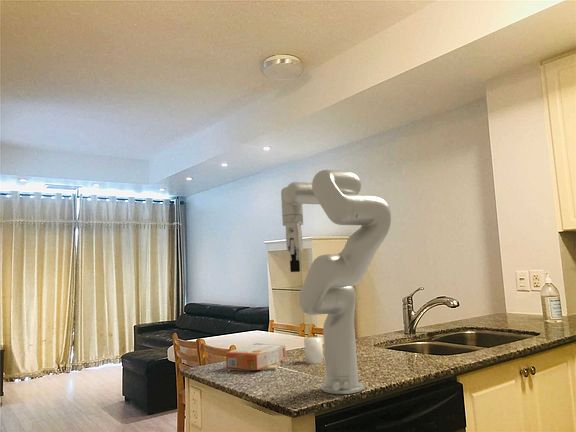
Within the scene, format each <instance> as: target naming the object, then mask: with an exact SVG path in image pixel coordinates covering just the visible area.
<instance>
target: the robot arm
mask: <svg viewBox="0 0 576 432" xmlns="http://www.w3.org/2000/svg"><path fill="white" fill-rule="evenodd" d="M361 189H362V182H361V179H360V177H359V176H358V175H357V174H356V173H353V172H350V171H346V170H337V169H335V170H333V169H322V170H320V171H318V172H317V173H315V175H314V177H313V179H312V181H311V182H303V181H300V182H299V181H293V182H289V184H288V185H287V186H285V187H283V188H281V191H280V194H281V195H280V197H281V198H280V199H281V200H280V201H281V217H282V220H281V221H282V226H284V227H285V244H286V245H285V246H286V251H288V252H289V260H290V261H289V266H290V267H289V270H290V272H291V273H299V272H301V266H300V263H301V262H300V252H301V253H303V251H304V246H303V233H302V231H303V230H302V225H304V210H303V205H319V206H321V208H322V210H323V212H324V213H325V214H326V216H327V218H328V219H329V221H331V222H332V223H334V224H335V225H338V226H360V228H358V229H357V230H356V231H354V232H353V233H352V234H351V235H350V236H349V238H348V239H347V241H346V242H345V245H344V247H343V249H342V250H341V252H339V253H332V254H331V253H330V254H321V255H319V256H317V257H316V258H315V259H314V260H313V261H312V263H311V265H310V267H309V269H308V271H307V274H306V276H305V279H304V281H303V283H302V286H301V289H300V291H299V298H298V303H299V307H300V309H301V310H302V312H303V313H305V314H307V315H309V316H319V315H326V318H325V320H324V323H323V328H322V336H323V337H322V339H323V357H324V371H325V382H322V383H321V385H320V389H321V391H322V392H324V393H327V394H334V395H348V394H349V395H350V394H356V393H359V392H362V391H363V390H364V389H365V386H364V385H365V384H364V383H363V382H362V381H359V375H358V374H359V372H358V361H357V360H358V358H357V357H358V356H357V345H356V330H355V329H356V328H355V327H356V326H355V312H356V311H355V310H356V303H357V293H356V290H355V287H354V286H357V285H358V284H360V283H361V281H362V279H363V277H364V276H365V274H366V272H367V270H368V268H369V266H370V264H371V262H372V260H373V258H374V256H375V254H376V252H377V250H378V249H379V248H380V246H381V245H382V244H383V242H384V240H385V239H386V237H387V235H388V233H389V231H390V228H391V221H392V214H391V209H390V206H389V203H388V202H387V201H385V199H383V198H381V197H379V196H374V195H369V194H368V195H365V194H359V193H360V192H361Z"/></svg>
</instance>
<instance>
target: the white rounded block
mask: <svg viewBox="0 0 576 432" xmlns="http://www.w3.org/2000/svg"><path fill="white" fill-rule="evenodd" d="M303 343H304V361H305V364H311V365H317V364H323V363H324V346H323V337H321V336H310V337H309V336H308V337H307V336H306V337H304V341H303Z"/></svg>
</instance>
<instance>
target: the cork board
mask: <svg viewBox="0 0 576 432" xmlns="http://www.w3.org/2000/svg"><path fill="white" fill-rule="evenodd" d="M282 362H283V360H282V361H280V362H277V363H274V364H272V365H269V366H267V367H264V368H262V369H259V370H273V371H276V370H277V369H278V368H277V367H279V366H280V365H281V364H282ZM227 370H249V369H238V368H226V371H227Z"/></svg>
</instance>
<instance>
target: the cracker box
mask: <svg viewBox="0 0 576 432" xmlns="http://www.w3.org/2000/svg"><path fill="white" fill-rule="evenodd" d="M286 355H287V353H286V344H275V343H274V344H273V343H258V342H257V343H253V344H250V345H247V346H243V347H241V348H237V349H233V350H230V351H227V352H225V361H226V362H225V363H226V364H225V365H226V369H228V368H238V369H249V370H259V369H262V368H264V367H267V366H269V365H272V364H274V363H277V362H280V361H282V362H283V361H285V360H286V359H287V356H286Z"/></svg>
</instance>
